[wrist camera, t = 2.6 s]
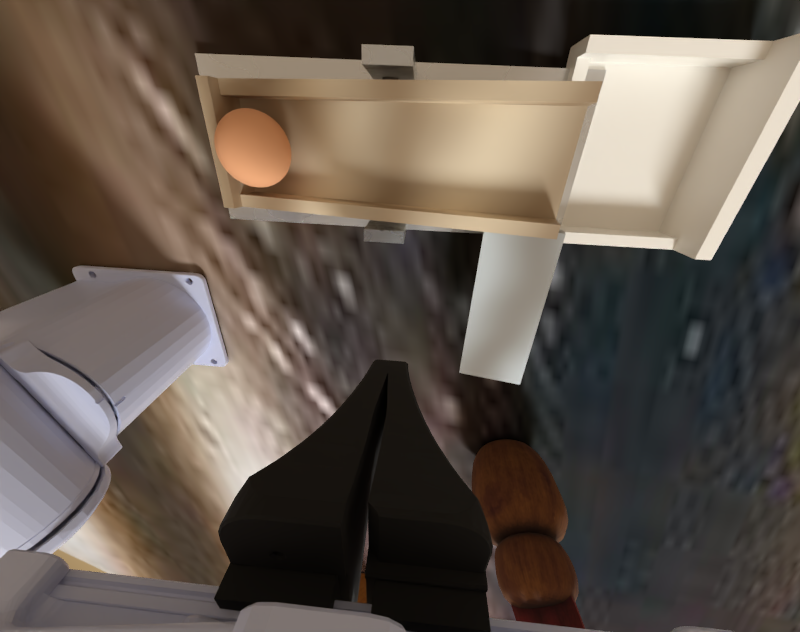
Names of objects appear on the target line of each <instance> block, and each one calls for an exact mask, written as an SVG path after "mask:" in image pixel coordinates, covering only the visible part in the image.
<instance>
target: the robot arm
mask: <svg viewBox="0 0 800 632" xmlns="http://www.w3.org/2000/svg"><path fill="white" fill-rule="evenodd" d="M72 272H73V275H74V277H75V279H76V282H73V283H71V284H68V285H66V286H63V287H60V288H58V289H55V290H53V291H50V292H48V293H45V294H43V295H40V296H38V297H35V298H33V299H30V300H28V301H25V302H23V303H20V304H18V305H15V306H13V307H10V308H7V309H5V310H2V311H0V632H607V631H598V630H589V629H581V628H572V627H564V626H555V625H546V624H538V623H529V622H521V621H512V620H503V619H495V618H489V612H488V605H487V597H486V592H487V590H488V586H487V578H486V568H487V565H488V562H489V560H490V557H491V554H492V548H493V544H492V539H491V535H490V531H489V527H488V524H487V521H486V518H485V515H484V512H483V510H482V507H481V505H480V502H479V500H478V498H477V497H476V496H475V495H474V494H473V492H472V491H471V490H470V489H469V488H468V486H467V485H466V484H465V483H464V482H463V480H462V479H461V478H460V476H459V475H458V474H457V472H456V471H455V470H454V468H453V467H452V466H451V464H450V463H449V461H448V460H447V458H446V457H445V455H444V454H443V452H442V451H441V449H440V448H439V446H438V444H437V443H436V441H435V439H434V437H433V436H432V434H431V432H430V430H429V428H428V426H427V424H426V422H425V420H424V418H423V416H422V413H421V411H420V409H419V406H418V404H417V401H416V398H415V395H414V392H413V389H412V386H411V382H410V378H409V372H408V364H407V363H406V362H401V361H388V360H375V361H374V362H373V364H372V365H371V367H370V369H369V370H368V372H367V374H366V375H365V376H364V378H363V379H362V381H361V382H360V383H359V385H358V386H357V387H356V389H355V390H354V391H353V393H352V394H351V395H350V396H349V397H348V399H347V400H346V401H345V402H344V403H343V404H342V405H341V407H340V408H339V409H338V410H337V411H336V412H335V413H334V414H333V415H332V416H331V417H330V418H329V419H328V420H327V421H326V422H325V423H324V424H323V425H322V426H320V427H319V428H318V429H317V430H316V431H315V432H314V433H312V434H311V435H310V436H309V437H308V438H306V439H305V440H304V441H303V442H301V443H300V444H299V445H297V446H296V447H295V448H293V449H292V450H290V451H289V452H288V453H286V454H285V455H284V456H282V457H281V458H279V459H278V460H276V461H275V462H273V463H271V464H270V465H268V466H267V467H265V468H263V469H262V470H260V471H258V472H257V473H255V474H253V475H252V476H250V477H249V478H248V479H247V481H246V482H245V484H244V485H243V487H242V488H241V490H240V491H239V493H238V494H237V496H236V497H235V499H234V501H233V502H232V504H231V506H230V508H229V510H228V512H227V513H226V515H225V517H224V519H223V521H222V523H221V525H220V527H219V530H218V533H219V537H220V541H221V543H222V545H223V547H224V549H225V551H226V554H227V556H228V558H229V560H230V562H231V563H230V565H229V567H228V569H227V571H226V573H225V575H224V578H223V580H222V582H221V584H220V586H211V585H202V584H194V583H185V582H177V581H168V580H159V579H151V578H142V577H134V576H125V575H116V574H108V573H99V572H91V571H81V570H73V569H69V566H68V564H67V563H66V562H65V561H64V560H63V559H61V558H60V557H58V556H56V555H53V554H52V553H53V552H55V551H56V550H57V549H58V548H60V547H61V546H62V545H63V544H64V543H65V542H67V541H68V540H69V539H70V538H71V537H72V536H73V535H74V534H75V533H76V532H77V531H78V530H79V529H80V528H81V527H82V526H83V525H84V523H85V522H86V521H87V520H88V519H89V517H90V516H91V515H92V514H93V512H94V511H95V509H96V508H97V506H98V504H99V503H100V501H101V500H102V499H103V497H104V495H105V493H106V491H107V489H108V487H109V484H110V481H111V472H110V469H109V467H108V466H107V465H106V463H107V462H108V461H109V460H110V459H111V458H112V457H113V456H114V455H115V454H116V453H117V452H118V451H119V450H120V449H121V448H122V445H121V444H120V443H119V441H118V439H117V435H118V434H119V433H121V432H122V431H123V430H124V429H125V428H126V427H127V426H128V425H129V424H130V423H131V422H132V421H133V420H134V419H135V418H136V417H137V416H138V415H139V414H140V413H141V412H143V411H144V410H145V409H146V408H147V407H148V406H149V405H150V404H151V403H152V402H153V401H154V400H155V399H156V398H157V397H158V396H159V395H160V394H161V393H162V392H163V391H165V390H166V389H167V388H168V387H169V386H170V385H171V384H172V383H173V382H174V381H175V380H176V379H177V378H178V377H179V376H180V375H181V374H182V373H183V372H184V371H186V370H187V369H188V368H189V367H190V366H191V365H192V364H194V365H207V366H220V367H224V366H226V365H227V363H228V357H227V353H226V350H225V346H224V343H223V339H222V335H221V332H220V328H219V325H218V321H217V318H216V314H215V311H214V307H213V304H212V300H211V296H210V293H209V289H208V286H207V282H206V279H205V278H204V276H203V275H201V274H198V273H186V272H171V271H156V270H142V269H127V268H112V267H97V266H82V265H80V266H76V267H74V268H72ZM189 278H190V279H191V280H192V281H193V282H191V281H190V280H189ZM214 359H215V360H216V361H215V360H214ZM367 523H368V530H369V549H368V556H367V563H366V570H365V579H366V597H367V604H366V603H357V602H358V594H359V585H360V577H361V569H362V561H363V554H364V546H365V538H366V530H367ZM670 632H733V631H729V630H720V629H711V628H702V627H694V626H683V627H678V628H675V629H673V630H672V631H670Z"/></svg>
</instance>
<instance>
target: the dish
mask: <svg viewBox="0 0 800 632" xmlns="http://www.w3.org/2000/svg"><path fill="white" fill-rule="evenodd" d="M566 68H570V71H569V75H568V79H567V81H585V79H586V75H587V71H588V69H597V70H607V71H606V74H605V77H604V81H603V84H602V88H601V91H600V95H599V98H598V101H597V105H596V108H595V112H594V115H593V118H592V122H591V125H590V129H589V132H588V136H587V139H586V142H585V146H584V149H583V153H582V156H581V159H580V163H579V166H578V170H577V173H576V177H575V180H574V183H573V187H572V190H571V194H570V197H569V200H568V204H567V207H566V211H565V214H564V218H563V221H562V224H561V226H560V230H563V231H564V232H565V233H566V235H565V238H564V241H563V243H572V244H588V245H605V246H621V247H637V248H654V249H670V250H675V251H677V252H679V253H682V254H684V255H686V256H689V257H691V258H693V259H701V260H712V258H713V256H714V254H715V252H716V251H717V249H718V247H719V245H720V243H721V242H722V240H723V238H724V236H725V234H726V233H727V231H728V229H729V227H730V225H731V224H732V222H733V220H734V218H735V216H736V215H737V213H738V211H739V209H740V207H741V206H742V204H743V202H744V200H745V198H746V197H747V195H748V193H749V191H750V189H751V188H752V186H753V184H754V182H755V180H756V179H757V177H758V175H759V173H760V171H761V170H762V168H763V166H764V164H765V162H766V160H767V159H768V157H769V155H770V153H771V151H772V150H773V148H774V146H775V144H776V142H777V141H778V139H779V137H780V135H781V133H782V132H783V130H784V128H785V126H786V124H787V123H788V121H789V119H790V117H791V115H792V114H793V112H794V110H795V108H796V106H797V105H798V103H799V101H800V34H796V35H793V36H789V37H786V38H783V39H779V40H776V41H756V40H729V39H701V38H674V37H646V36H619V35H591V34H590V35H589V36H587V37H586V38H584V39H583V40H581V41H580V42H578V43H577V44H575V45H573V46H572V47H571V48H570V53H569V57H568V61H567V65H566Z"/></svg>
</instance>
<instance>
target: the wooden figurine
mask: <svg viewBox="0 0 800 632" xmlns="http://www.w3.org/2000/svg"><path fill="white" fill-rule="evenodd" d="M472 492H473V494H474V495H475V496H476V497H477V498H478V500H479V502H480V505H481V507H482V510H483V512H484V515H485V518H486V521H487V524H488V527H489V531H490V535H491V539H492V544H493V545H495V546H497V548H496V551H495V566H496V575H497V580H498V584H499V587H500V589H501V591H502V594H503V596H504V598H505V599H506V600H507V601H508V602H509V603H510V604H511V605H512V609H513V612H514V615H515V618H516V621H521V622H529V623H538V624H546V625H555V626H564V627H572V628H581V629H585V627H584V625H583V622H582V619H581V617H580V614H579V611H578V608H577V606H576V603H575V601H576V598H577V596H578V593H579V591H578V580H577V576H576V573H575V570H574V567H573V565H572V563H571V560H570V558H569V556H568V555H567V553H566V552H565V551H564V549H563V548H562V546H561V545H560V544H559V542H560V541H561V540H562V539H563V537H564V535H565V532H566V528H567V524H568V517H567V511H566V507H565V504H564V502H563V499H562V497H561V494H560V492H559V490H558V487H557V485H556V483H555V481H554V479H553V476H552V474H551V473H550V471H549V469H548V467H547V466H546V464H545V462H544V461H543V460H542V458H541V457H540V456H539V455H538V453H537V452H535V451H534V450H533V449H532V448H531V447H530V446H528V445H526V444H525V443H523V442H520V441H516V440H511V439H501V440H495V441H492V442H489V443H487V444H486V445H484V446H483V447H482V448H480V450H479V451H478V453H477V455H476V457H475V460H474V463H473V471H472Z"/></svg>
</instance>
